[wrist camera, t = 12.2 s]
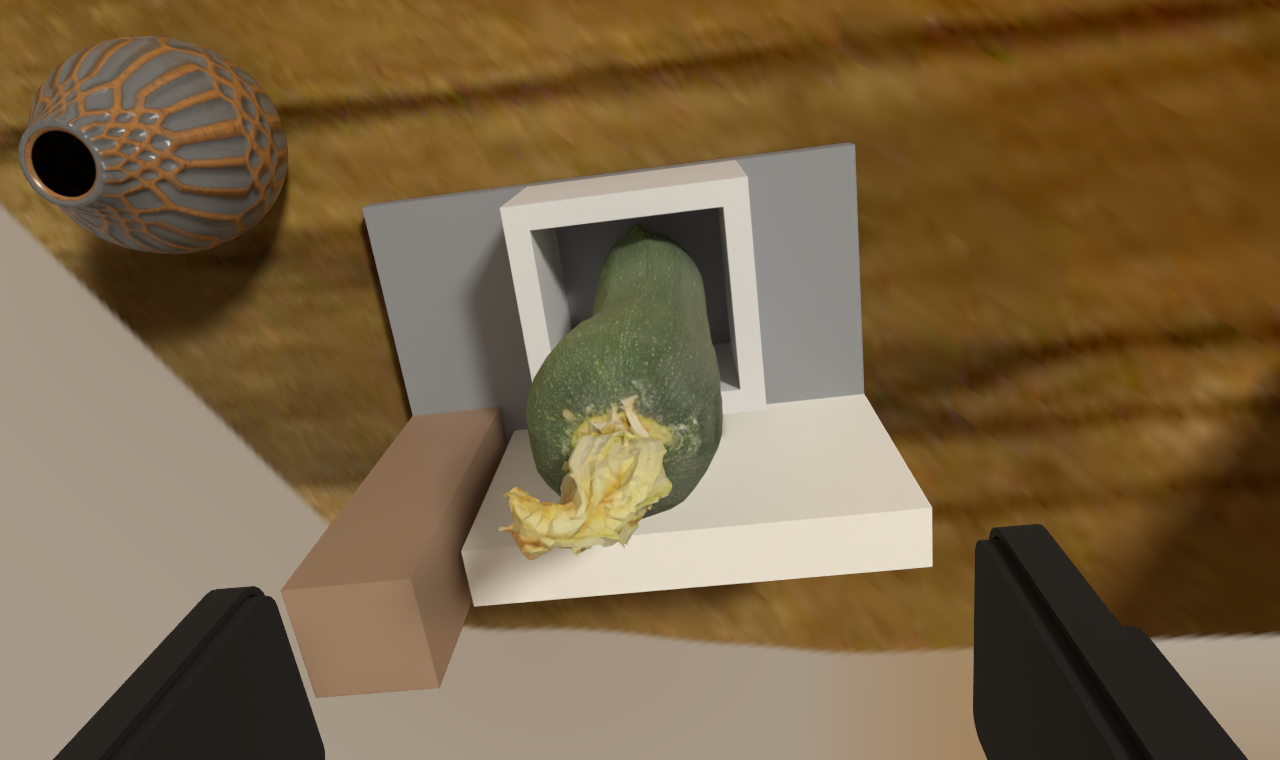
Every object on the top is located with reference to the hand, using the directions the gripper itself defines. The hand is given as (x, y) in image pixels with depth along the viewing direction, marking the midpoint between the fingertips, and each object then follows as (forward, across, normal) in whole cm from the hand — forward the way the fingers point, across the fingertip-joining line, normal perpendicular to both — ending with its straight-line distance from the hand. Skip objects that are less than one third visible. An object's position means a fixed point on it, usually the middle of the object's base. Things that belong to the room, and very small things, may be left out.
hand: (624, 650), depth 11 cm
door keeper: (+22, +2, +2) cm, 23 cm away
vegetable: (+22, +1, 0) cm, 22 cm away
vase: (+22, +16, -7) cm, 28 cm away
